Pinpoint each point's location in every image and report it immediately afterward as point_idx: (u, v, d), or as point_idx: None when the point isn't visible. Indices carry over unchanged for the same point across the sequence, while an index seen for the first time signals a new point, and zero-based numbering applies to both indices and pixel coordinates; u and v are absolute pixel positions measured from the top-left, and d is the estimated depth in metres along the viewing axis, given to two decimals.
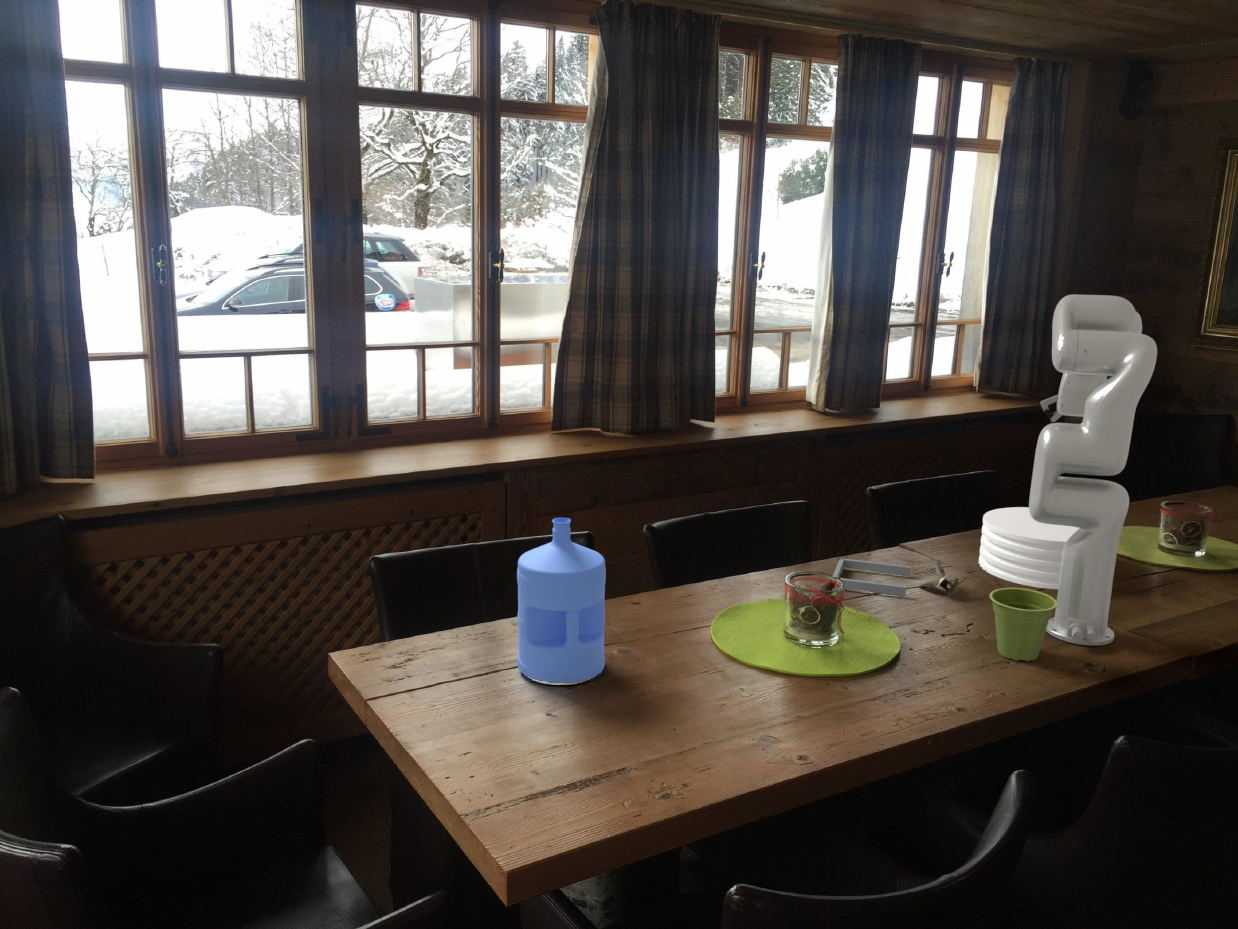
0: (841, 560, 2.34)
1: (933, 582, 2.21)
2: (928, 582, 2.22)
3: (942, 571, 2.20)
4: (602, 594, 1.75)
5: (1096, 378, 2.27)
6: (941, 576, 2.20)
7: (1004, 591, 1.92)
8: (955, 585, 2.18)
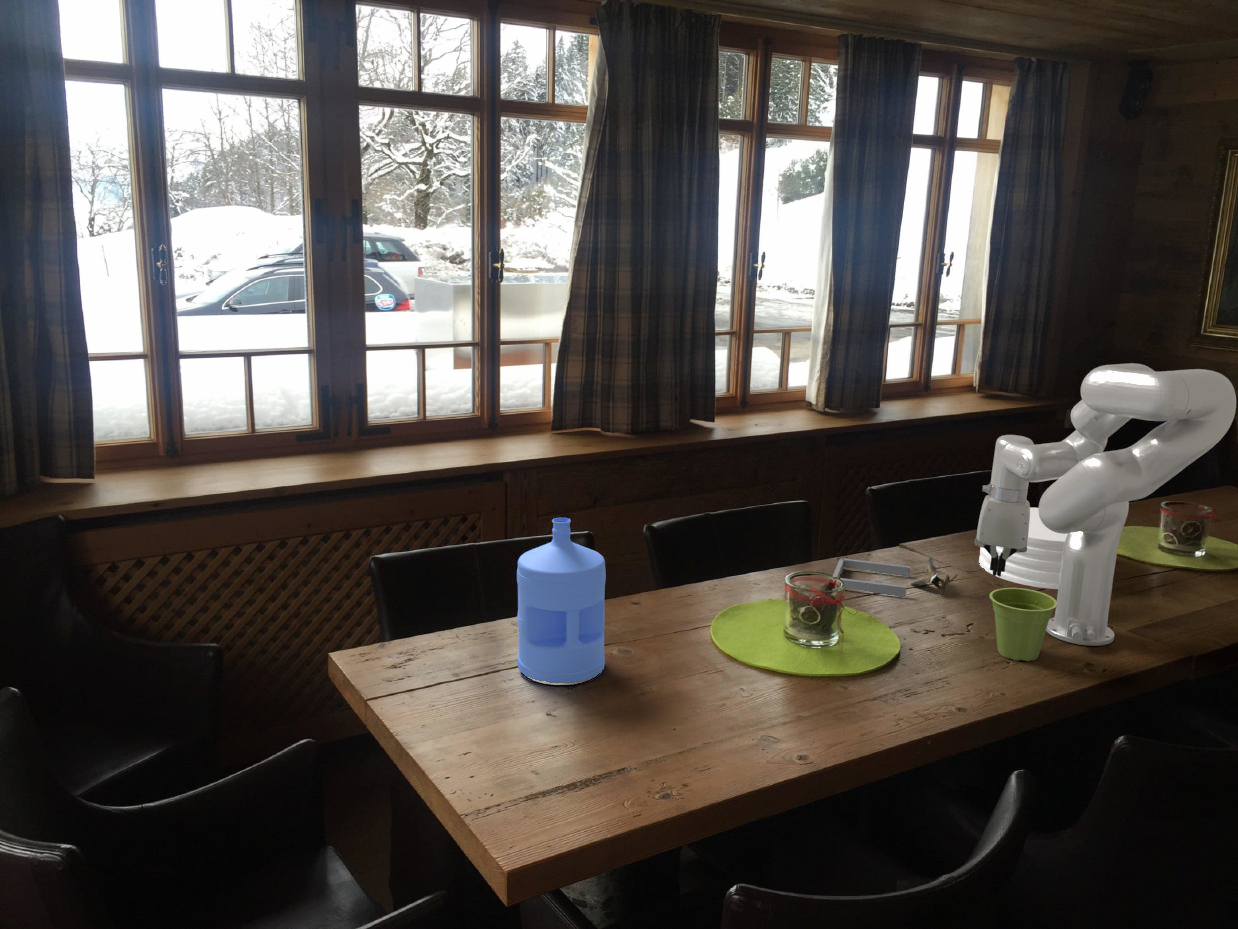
0: (841, 560, 2.34)
1: (925, 579, 2.22)
2: (920, 580, 2.23)
3: (934, 569, 2.22)
4: (602, 594, 1.75)
5: (1018, 508, 2.11)
6: (933, 574, 2.22)
7: (1004, 591, 1.92)
8: (947, 582, 2.20)
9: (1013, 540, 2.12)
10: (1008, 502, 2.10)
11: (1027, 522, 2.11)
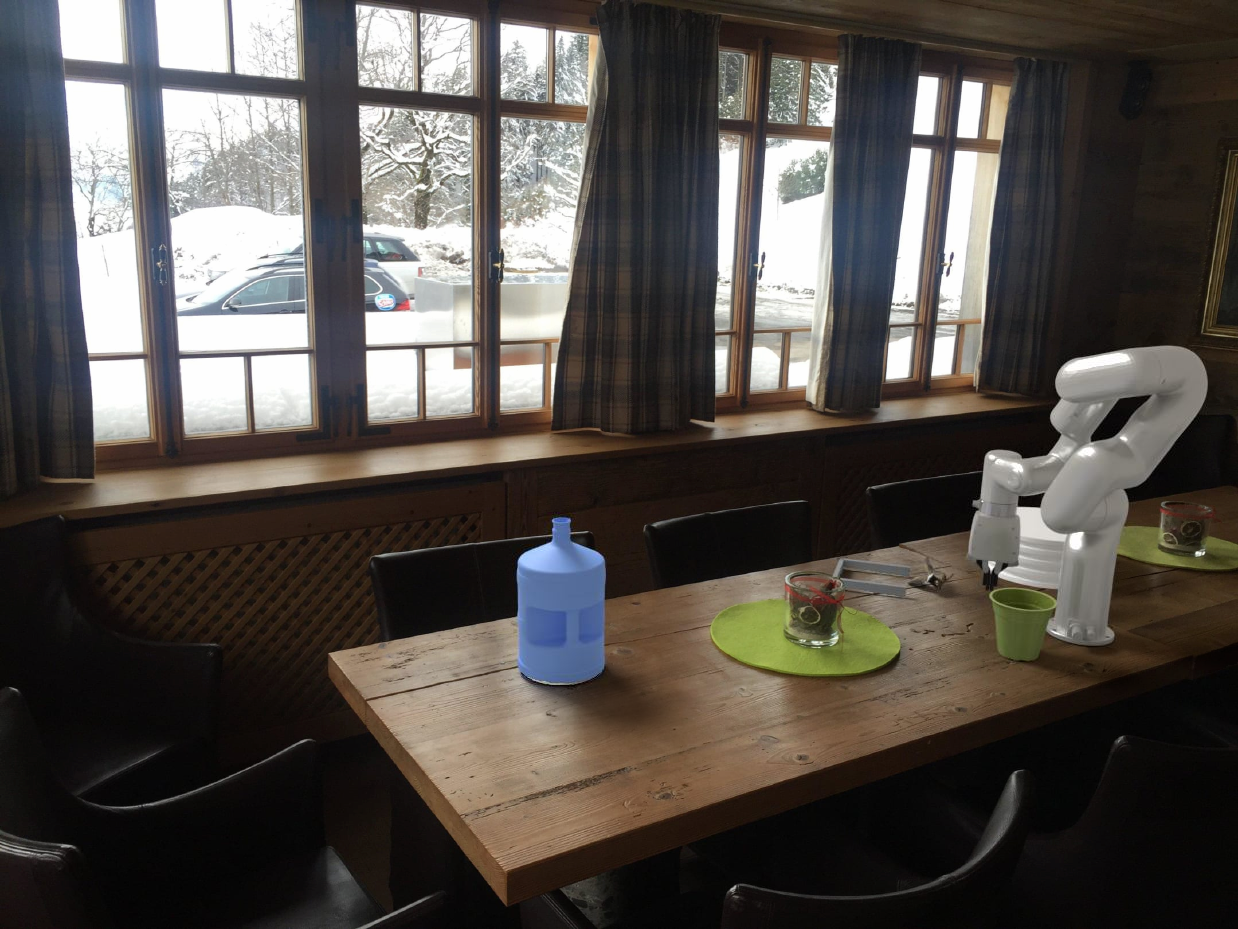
0: (841, 560, 2.34)
1: (921, 578, 2.23)
2: (917, 578, 2.24)
3: (930, 568, 2.22)
4: (602, 594, 1.75)
5: (1008, 523, 2.12)
6: (929, 572, 2.22)
7: (1004, 591, 1.92)
8: (943, 581, 2.20)
9: (1004, 554, 2.13)
10: (998, 517, 2.11)
11: (1018, 536, 2.12)
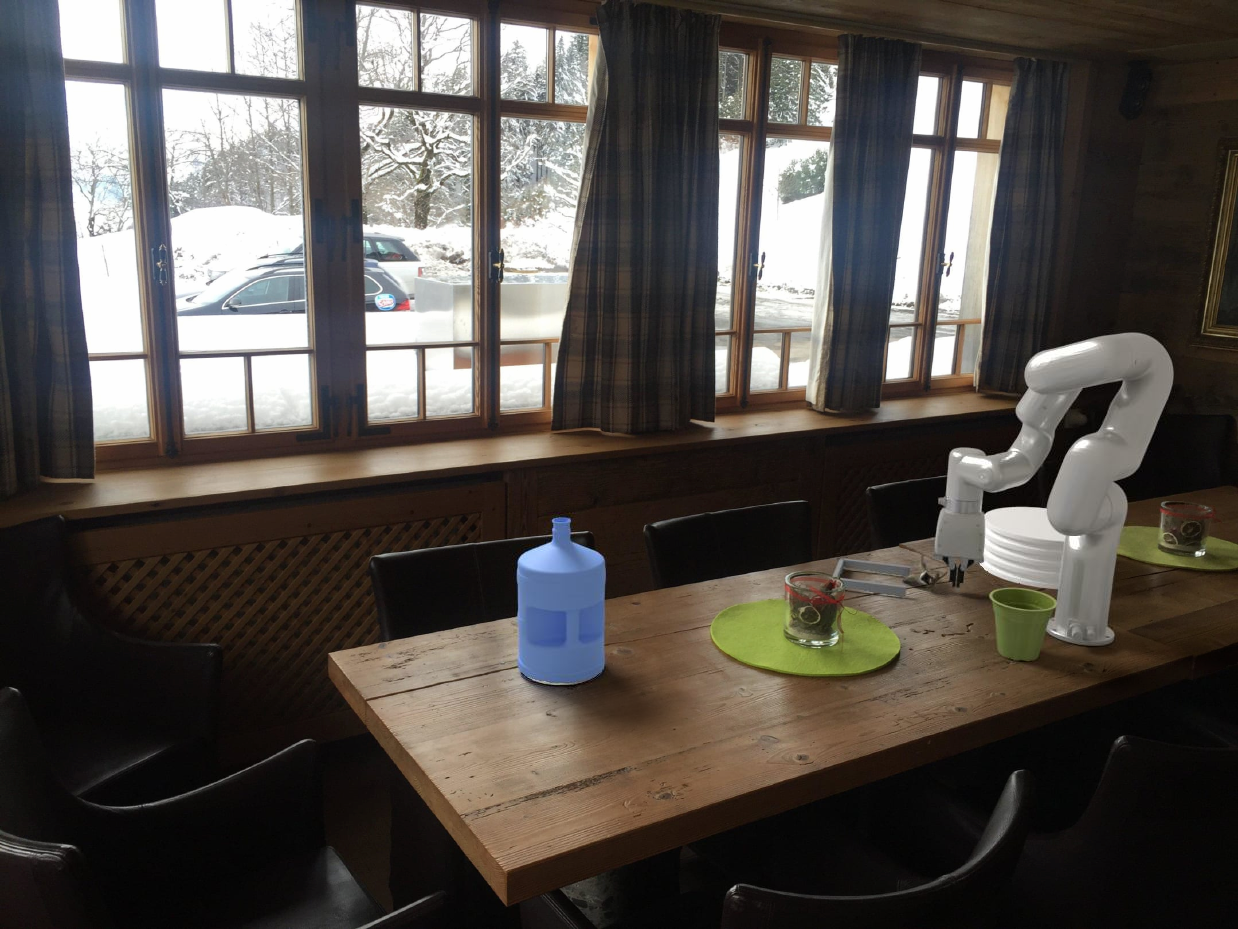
0: (841, 560, 2.34)
1: (915, 576, 2.24)
2: (910, 576, 2.25)
3: (924, 566, 2.23)
4: (602, 594, 1.75)
5: (972, 520, 2.14)
6: (923, 570, 2.23)
7: (1004, 591, 1.92)
8: (936, 579, 2.21)
9: (970, 551, 2.15)
10: (963, 513, 2.13)
11: (982, 533, 2.14)
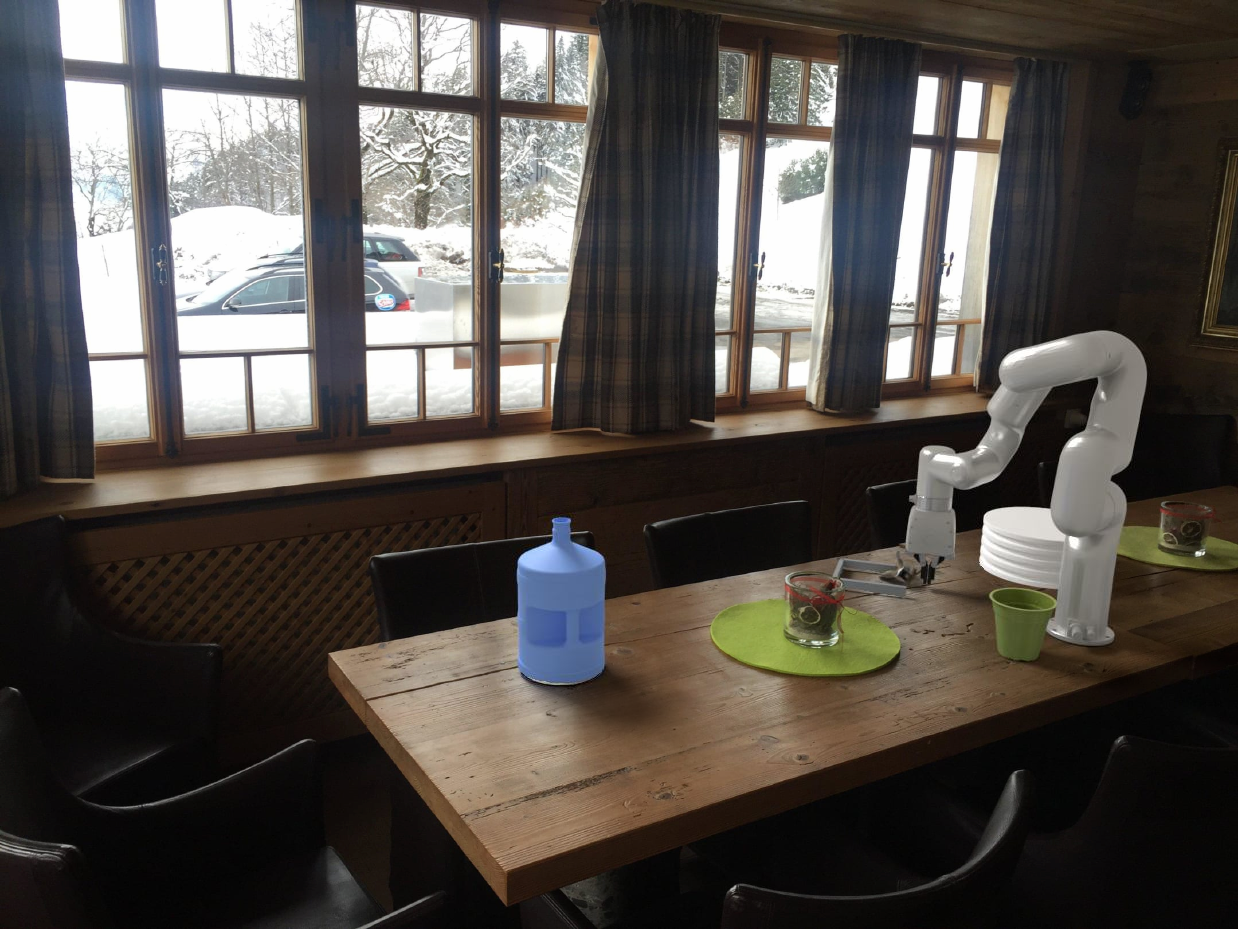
0: (841, 560, 2.34)
1: (892, 572, 2.26)
2: (887, 573, 2.27)
3: (901, 562, 2.25)
4: (602, 594, 1.75)
5: (943, 517, 2.16)
6: (900, 567, 2.25)
7: (1004, 591, 1.92)
8: (913, 575, 2.24)
9: (940, 548, 2.17)
10: (933, 511, 2.15)
11: (952, 530, 2.16)
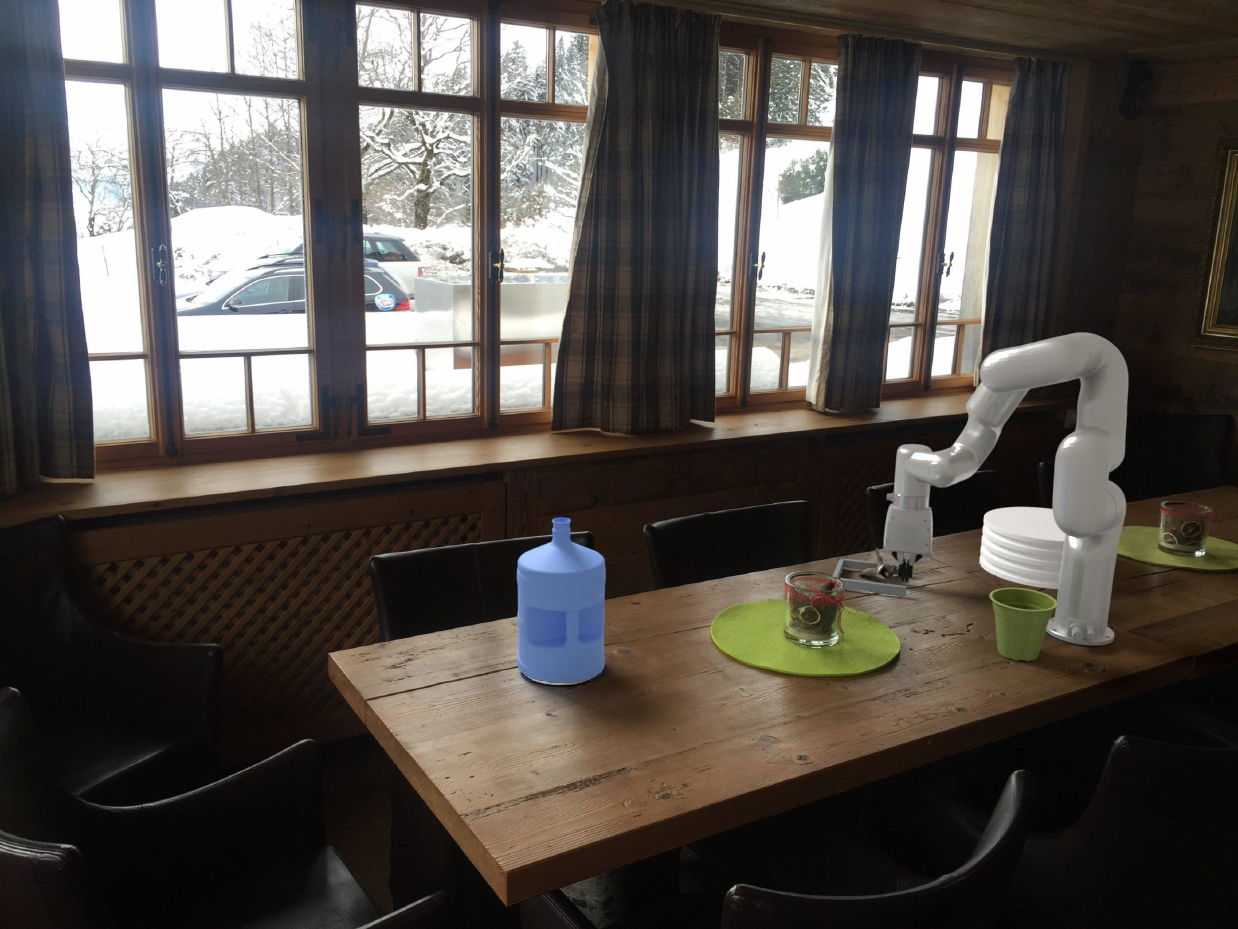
0: (841, 560, 2.34)
1: (872, 570, 2.28)
2: (867, 570, 2.29)
3: (880, 559, 2.27)
4: (602, 594, 1.75)
5: (920, 515, 2.17)
6: (880, 564, 2.27)
7: (1004, 591, 1.92)
8: (893, 572, 2.25)
9: (917, 546, 2.19)
10: (910, 509, 2.17)
11: (929, 528, 2.17)
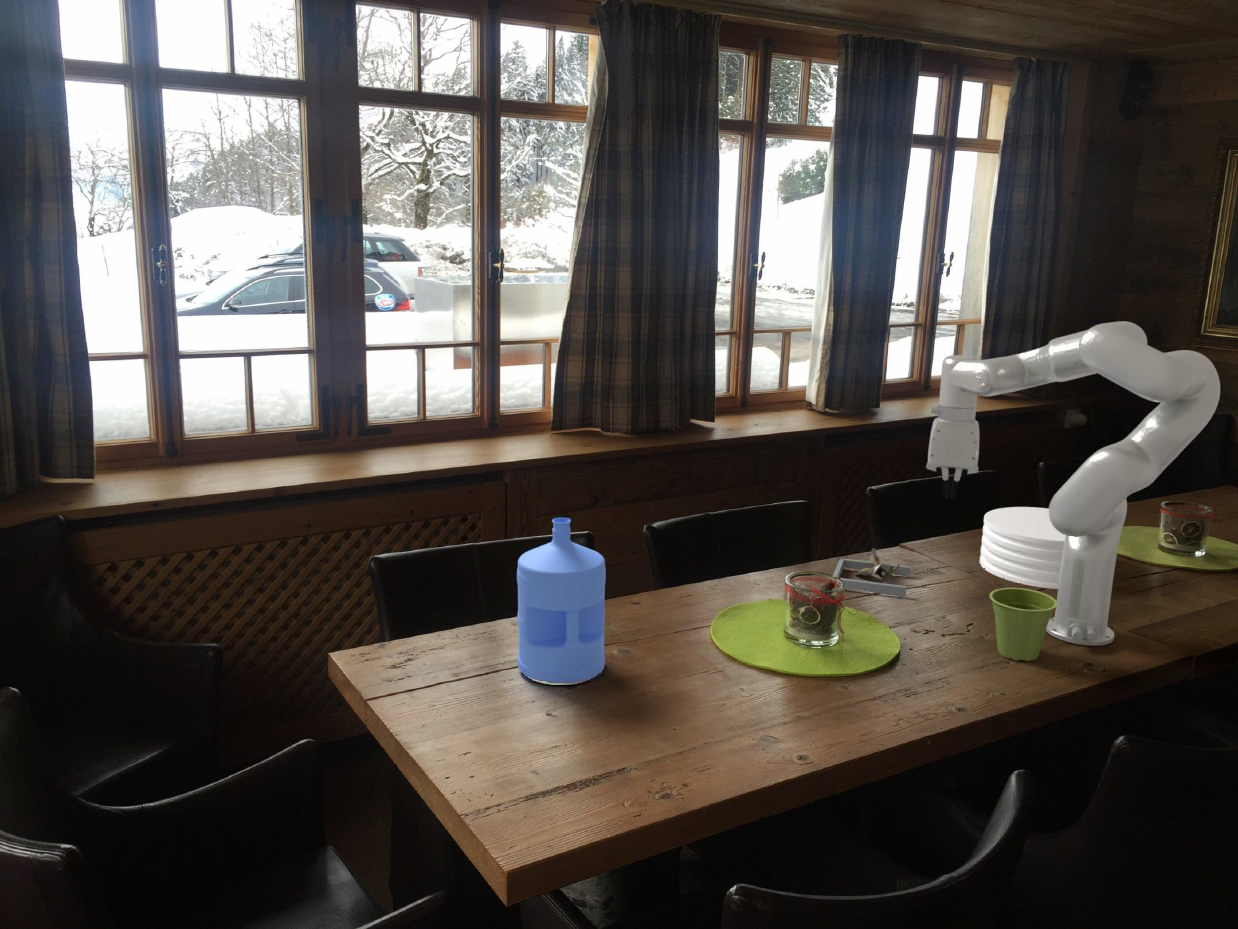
0: (841, 560, 2.34)
1: (868, 570, 2.28)
2: (864, 570, 2.29)
3: (877, 559, 2.27)
4: (602, 594, 1.75)
5: (966, 427, 2.10)
6: (876, 564, 2.27)
7: (1004, 591, 1.92)
8: (889, 572, 2.26)
9: (963, 460, 2.12)
10: (956, 421, 2.10)
11: (976, 441, 2.10)
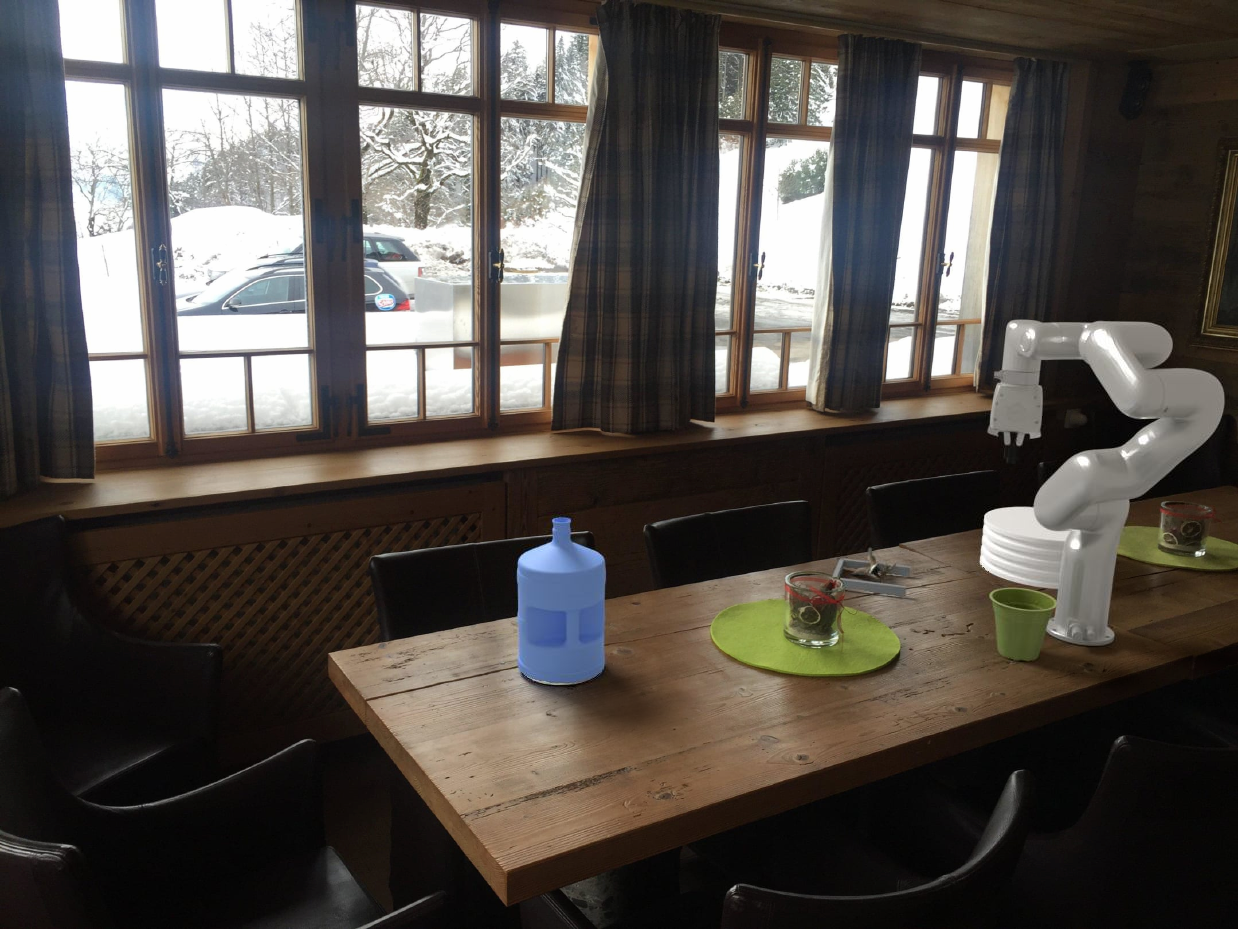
0: (841, 560, 2.34)
1: (865, 569, 2.28)
2: (860, 570, 2.29)
3: (873, 559, 2.28)
4: (602, 594, 1.75)
5: (1030, 391, 2.11)
6: (872, 563, 2.28)
7: (1004, 591, 1.92)
8: (886, 572, 2.26)
9: (1026, 424, 2.13)
10: (1020, 385, 2.10)
11: (1040, 405, 2.11)
